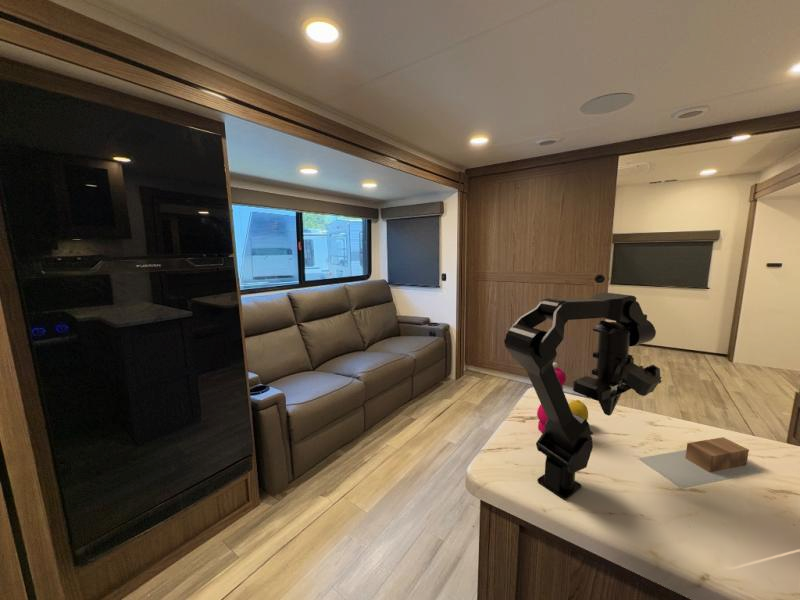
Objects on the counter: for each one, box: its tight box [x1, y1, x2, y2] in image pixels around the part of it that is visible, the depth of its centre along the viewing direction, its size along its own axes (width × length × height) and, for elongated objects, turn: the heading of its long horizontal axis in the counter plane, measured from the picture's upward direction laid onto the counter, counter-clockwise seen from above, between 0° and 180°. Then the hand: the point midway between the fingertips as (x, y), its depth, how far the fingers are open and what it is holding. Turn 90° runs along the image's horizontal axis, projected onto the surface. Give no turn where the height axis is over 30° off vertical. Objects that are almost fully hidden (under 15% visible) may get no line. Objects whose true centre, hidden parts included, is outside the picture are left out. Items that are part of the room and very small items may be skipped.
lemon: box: [568, 399, 589, 421], centre depth 90 cm, size 6×6×8 cm
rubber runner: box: [636, 449, 763, 489], centre depth 74 cm, size 23×10×1 cm, turn 102°
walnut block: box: [685, 437, 750, 472], centre depth 75 cm, size 4×5×11 cm
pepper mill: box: [536, 361, 567, 434], centre depth 88 cm, size 7×7×20 cm
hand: (607, 414), depth 73 cm, fingers closed
